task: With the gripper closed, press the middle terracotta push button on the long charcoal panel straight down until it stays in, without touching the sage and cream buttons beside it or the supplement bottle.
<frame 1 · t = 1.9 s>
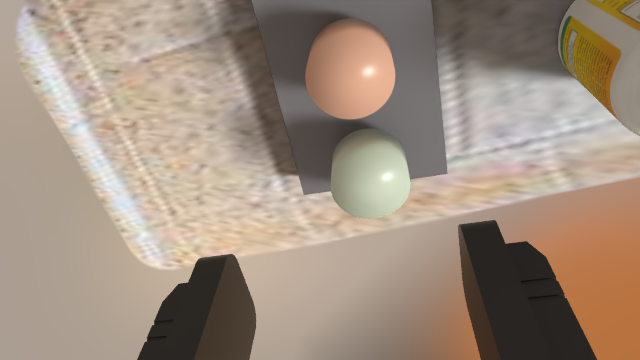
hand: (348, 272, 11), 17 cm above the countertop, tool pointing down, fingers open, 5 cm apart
terracotta button: (350, 68, 22), point 4 cm above the countertop, slide at 0.0 cm
sage button: (369, 173, 25), point 4 cm above the countertop, slide at 0.0 cm
button panel: (350, 41, 26), on the countertop
supplement bottle: (608, 28, 25), on the countertop
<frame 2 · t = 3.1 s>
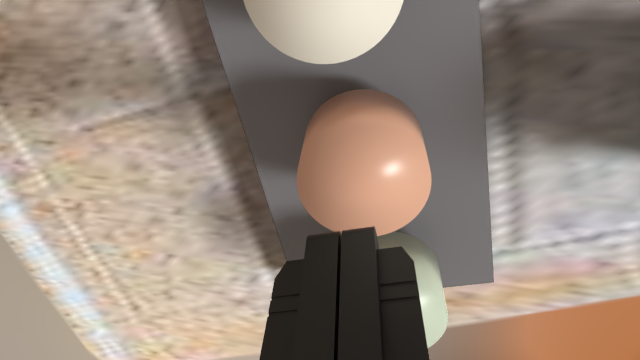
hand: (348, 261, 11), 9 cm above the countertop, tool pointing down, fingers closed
terracotta button: (363, 163, 15), point 4 cm above the countertop, slide at 0.0 cm
sage button: (389, 294, 18), point 4 cm above the countertop, slide at 0.0 cm
button panel: (362, 108, 19), on the countertop
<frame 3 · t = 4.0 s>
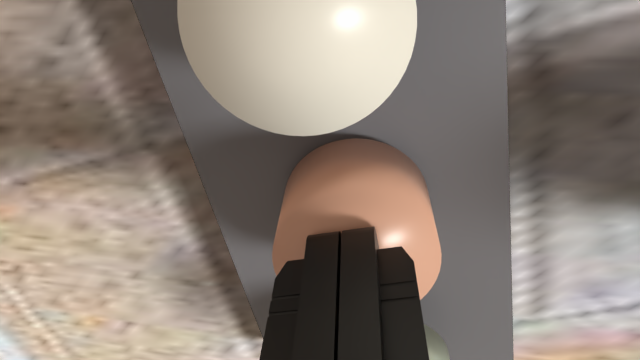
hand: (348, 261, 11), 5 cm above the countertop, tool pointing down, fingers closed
terracotta button: (355, 229, 12), point 3 cm above the countertop, slide at 0.7 cm, touching gripper
cream button: (302, 10, 9), point 4 cm above the countertop, slide at 0.0 cm
button panel: (355, 161, 15), on the countertop
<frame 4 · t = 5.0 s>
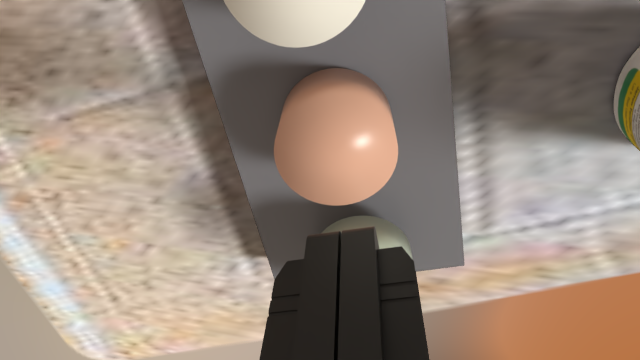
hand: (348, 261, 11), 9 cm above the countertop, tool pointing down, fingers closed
terracotta button: (336, 136, 16), point 3 cm above the countertop, slide at 0.7 cm
sage button: (363, 276, 19), point 4 cm above the countertop, slide at 0.0 cm
button panel: (336, 96, 19), on the countertop
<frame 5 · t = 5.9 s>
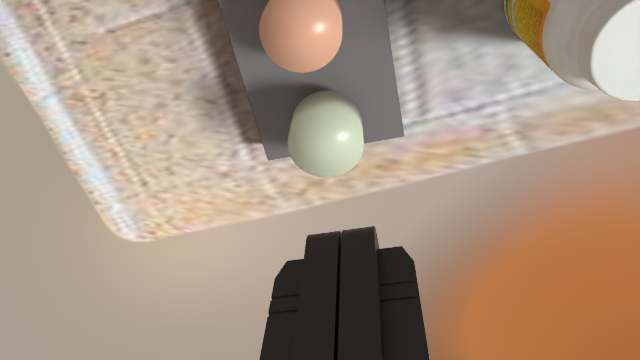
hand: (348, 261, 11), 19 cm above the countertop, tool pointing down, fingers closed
terracotta button: (302, 25, 24), point 3 cm above the countertop, slide at 0.7 cm
sage button: (326, 134, 26), point 4 cm above the countertop, slide at 0.0 cm
button panel: (306, 9, 27), on the countertop
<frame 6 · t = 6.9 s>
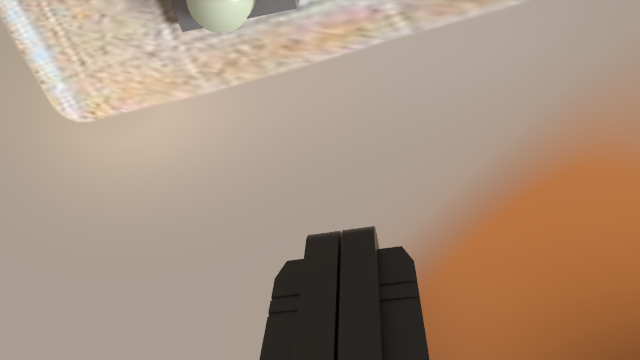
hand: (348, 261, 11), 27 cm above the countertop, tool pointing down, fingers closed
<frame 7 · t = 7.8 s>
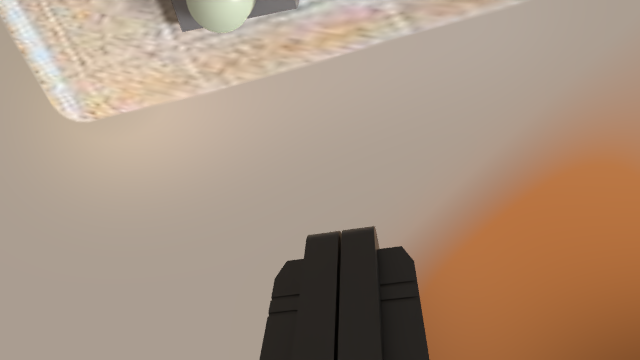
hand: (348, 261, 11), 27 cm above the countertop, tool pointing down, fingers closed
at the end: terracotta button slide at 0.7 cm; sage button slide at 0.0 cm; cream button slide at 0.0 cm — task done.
